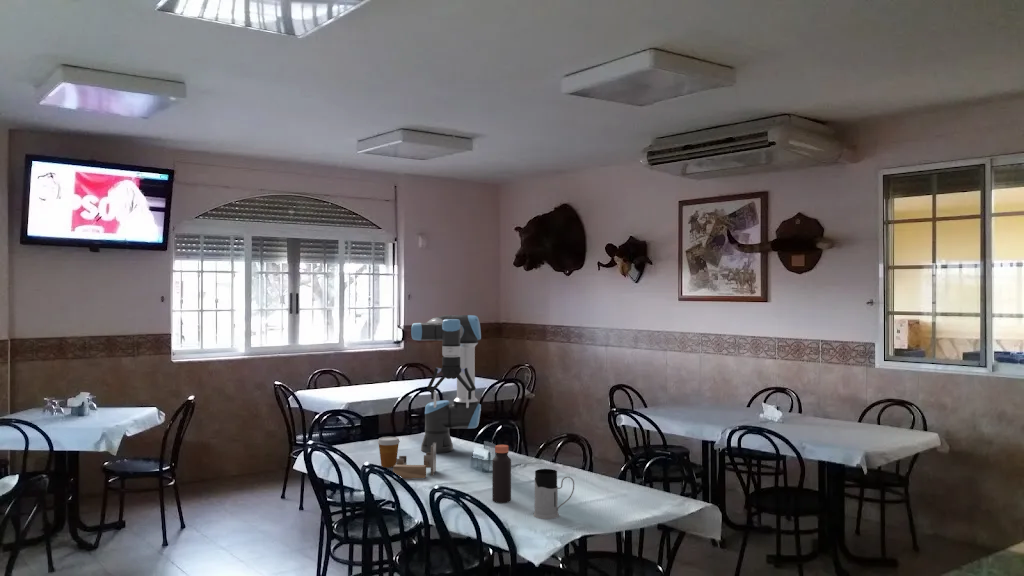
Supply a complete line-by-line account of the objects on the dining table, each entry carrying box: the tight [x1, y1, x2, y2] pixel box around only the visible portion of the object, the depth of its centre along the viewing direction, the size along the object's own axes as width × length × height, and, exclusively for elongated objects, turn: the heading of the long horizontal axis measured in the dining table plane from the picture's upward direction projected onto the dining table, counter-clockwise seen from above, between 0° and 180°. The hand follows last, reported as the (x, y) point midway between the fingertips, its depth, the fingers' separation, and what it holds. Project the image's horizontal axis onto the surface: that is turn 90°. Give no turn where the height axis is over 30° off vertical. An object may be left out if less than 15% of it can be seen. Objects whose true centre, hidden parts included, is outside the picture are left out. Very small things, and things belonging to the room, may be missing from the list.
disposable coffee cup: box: [377, 436, 400, 468], centre depth 341 cm, size 10×10×12 cm
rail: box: [392, 464, 427, 480], centre depth 320 cm, size 4×13×5 cm, turn 87°
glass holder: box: [532, 468, 575, 520], centre depth 266 cm, size 9×14×15 cm, turn 73°
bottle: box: [491, 444, 512, 504], centre depth 285 cm, size 7×7×20 cm
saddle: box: [396, 455, 408, 465], centre depth 329 cm, size 7×3×6 cm, turn 177°
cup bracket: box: [423, 443, 437, 476], centre depth 328 cm, size 8×4×12 cm, turn 177°
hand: (451, 407), depth 325 cm, fingers open, 13 cm apart
